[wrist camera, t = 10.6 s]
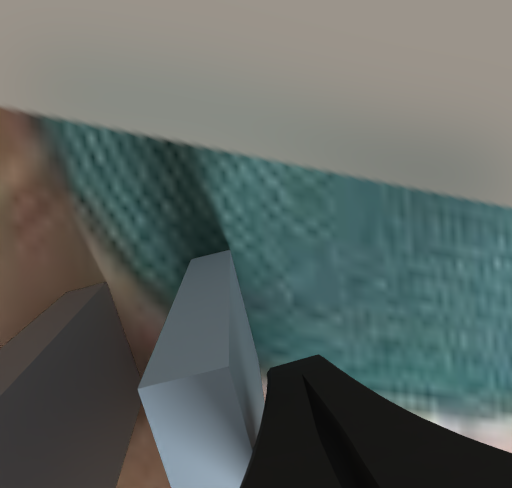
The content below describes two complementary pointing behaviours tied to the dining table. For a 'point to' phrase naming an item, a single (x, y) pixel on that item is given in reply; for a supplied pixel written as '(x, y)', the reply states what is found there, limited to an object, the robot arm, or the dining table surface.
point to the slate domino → (205, 380)
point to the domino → (68, 396)
